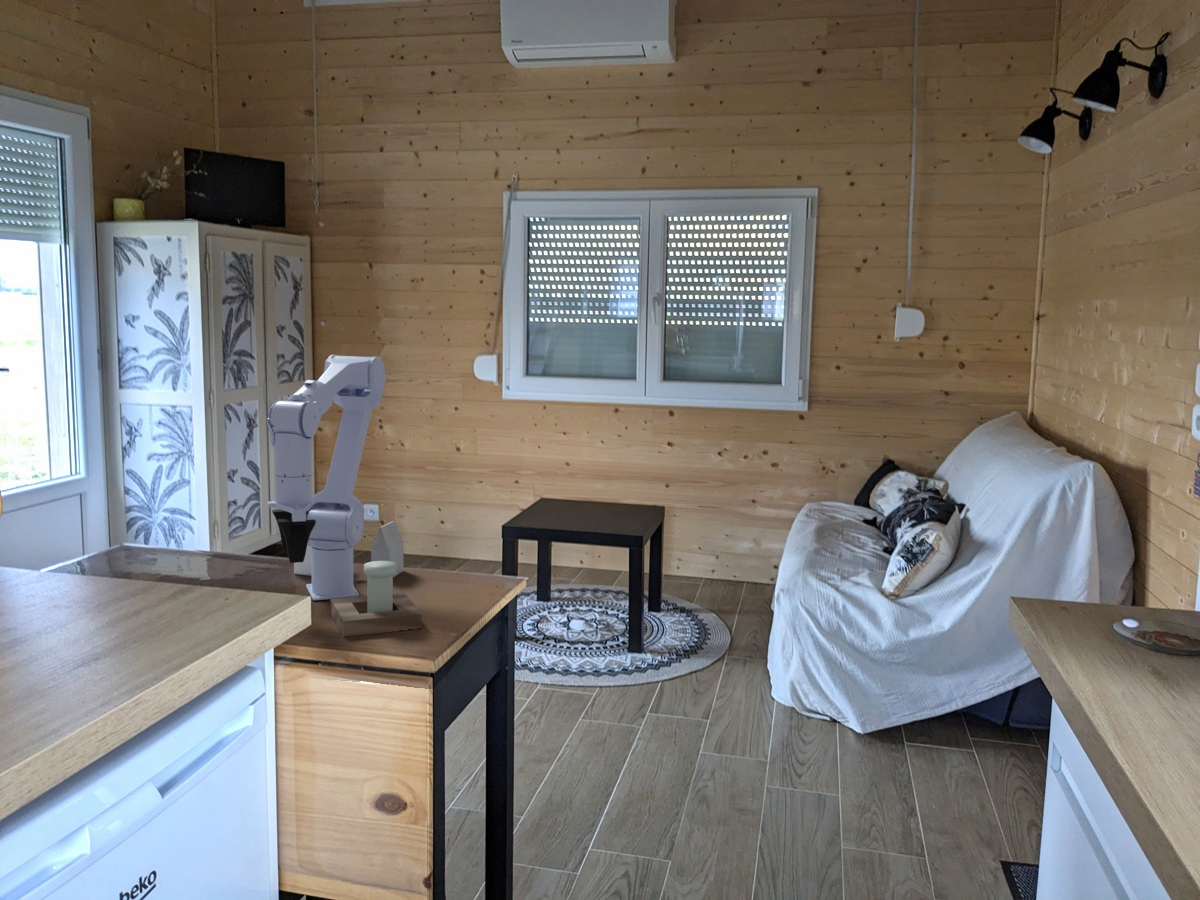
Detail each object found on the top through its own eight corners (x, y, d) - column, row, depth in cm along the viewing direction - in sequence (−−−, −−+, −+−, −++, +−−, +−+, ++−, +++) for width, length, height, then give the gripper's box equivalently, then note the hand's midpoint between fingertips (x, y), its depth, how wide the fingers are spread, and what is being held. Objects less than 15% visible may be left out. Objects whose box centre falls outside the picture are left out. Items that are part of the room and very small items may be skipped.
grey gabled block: (403, 571, 196) (403, 521, 194) (389, 579, 189) (389, 528, 188) (385, 569, 196) (385, 519, 195) (371, 578, 190) (371, 526, 188)
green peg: (364, 616, 166) (364, 561, 165) (396, 615, 168) (396, 560, 166) (363, 626, 161) (363, 569, 160) (395, 625, 162) (396, 568, 161)
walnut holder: (330, 613, 167) (330, 599, 167) (404, 606, 172) (404, 592, 172) (343, 636, 156) (343, 621, 156) (421, 628, 161) (422, 613, 161)
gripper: (262, 469, 166) (263, 548, 168) (272, 482, 153) (272, 568, 155) (306, 468, 169) (306, 546, 171) (319, 481, 156) (319, 565, 157)
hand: (293, 556), depth 163 cm, fingers open, 7 cm apart
